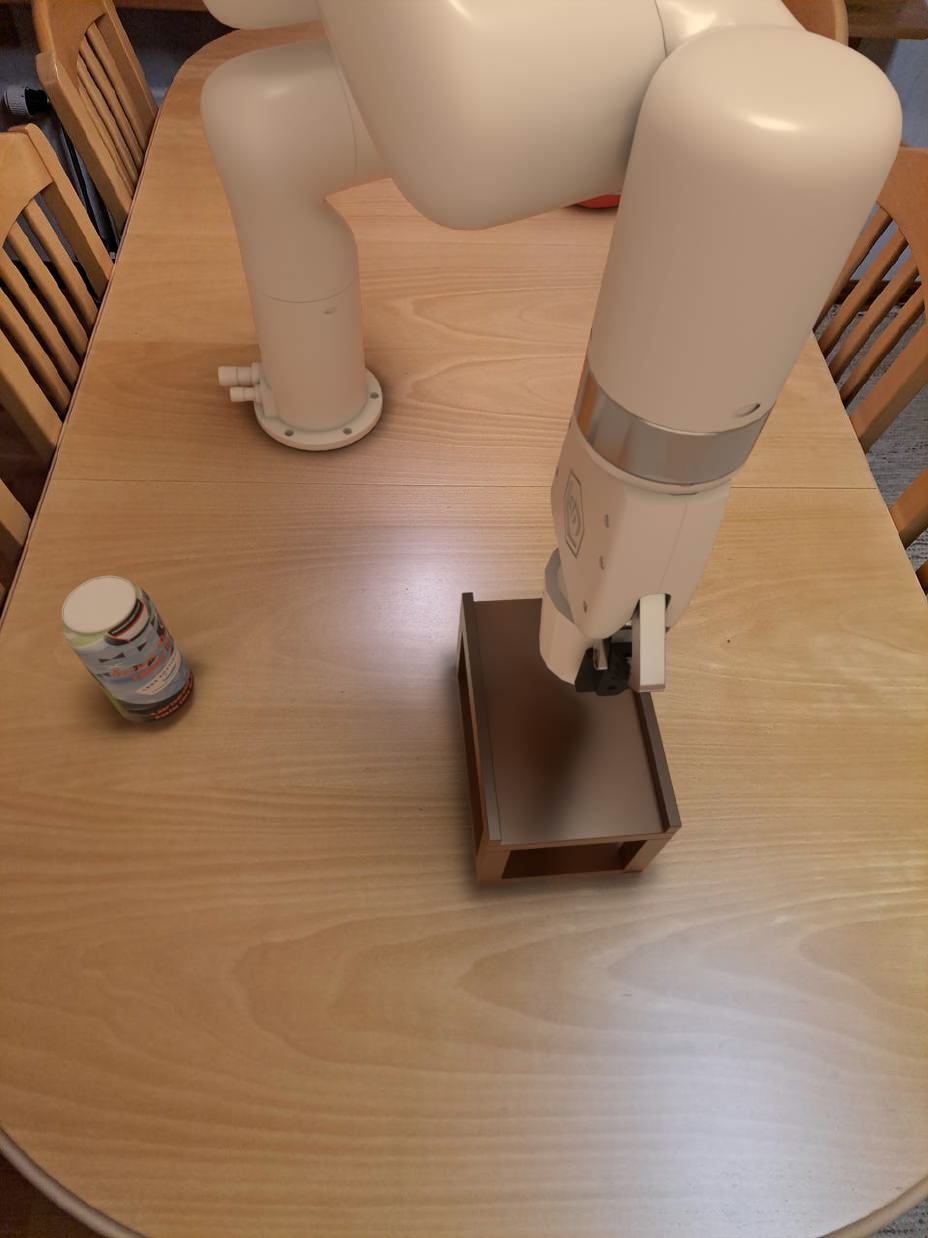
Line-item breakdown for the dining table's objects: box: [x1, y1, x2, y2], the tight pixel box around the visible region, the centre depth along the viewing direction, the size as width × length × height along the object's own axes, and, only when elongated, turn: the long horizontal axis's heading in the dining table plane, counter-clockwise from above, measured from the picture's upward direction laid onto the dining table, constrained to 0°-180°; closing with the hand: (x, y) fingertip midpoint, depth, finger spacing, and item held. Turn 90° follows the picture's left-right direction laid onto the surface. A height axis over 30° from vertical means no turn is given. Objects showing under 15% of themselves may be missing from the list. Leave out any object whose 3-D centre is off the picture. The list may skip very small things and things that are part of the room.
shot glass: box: [539, 547, 632, 685], centre depth 47 cm, size 7×7×7 cm
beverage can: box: [61, 575, 195, 724], centre depth 60 cm, size 6×7×12 cm
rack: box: [454, 591, 683, 886], centre depth 59 cm, size 12×18×10 cm, turn 5°
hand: (590, 627), depth 48 cm, fingers closed on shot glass, 6 cm apart
